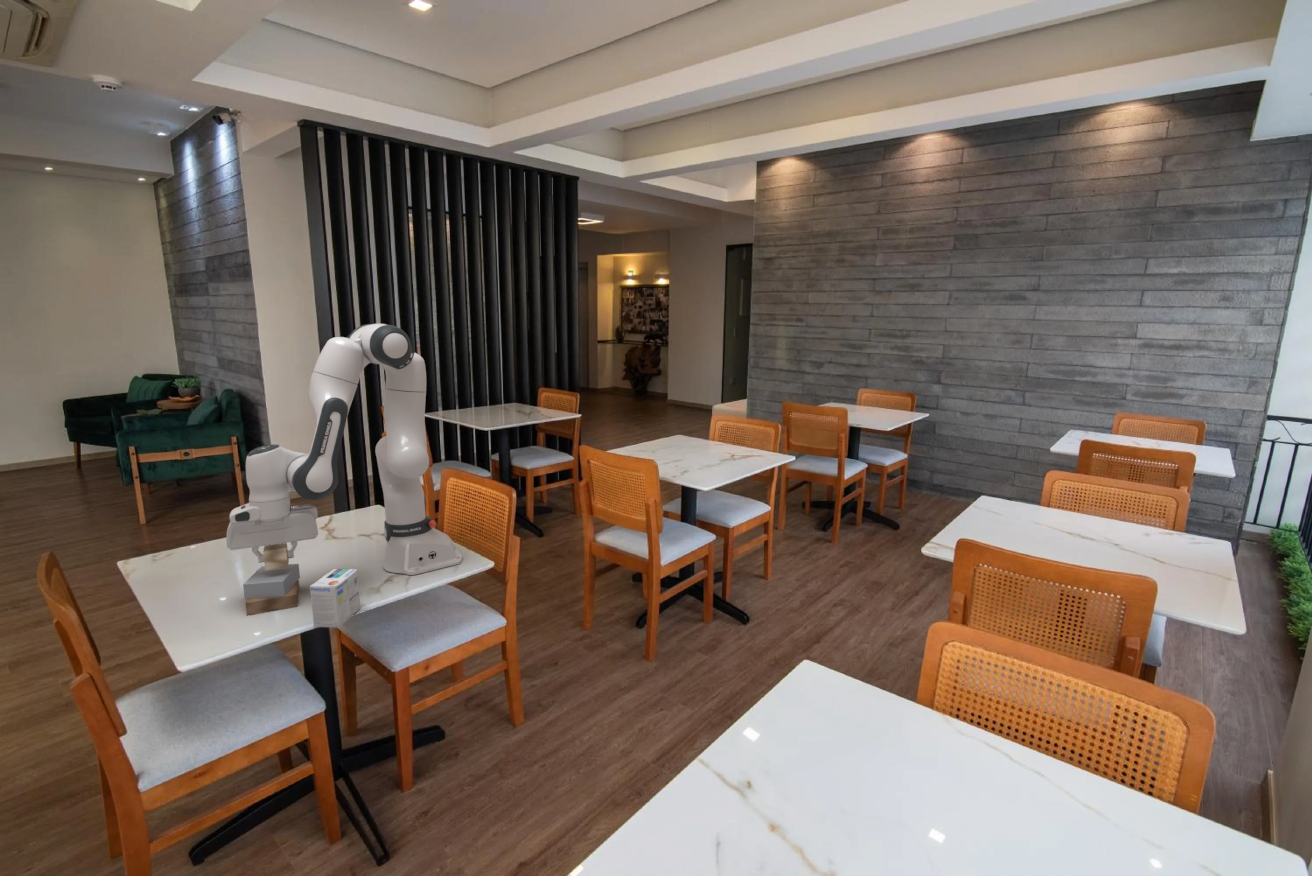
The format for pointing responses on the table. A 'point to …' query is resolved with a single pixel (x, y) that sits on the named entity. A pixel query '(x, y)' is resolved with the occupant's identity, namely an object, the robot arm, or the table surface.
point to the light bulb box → (335, 597)
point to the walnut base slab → (274, 602)
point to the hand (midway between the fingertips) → (276, 559)
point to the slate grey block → (271, 582)
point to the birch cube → (275, 556)
